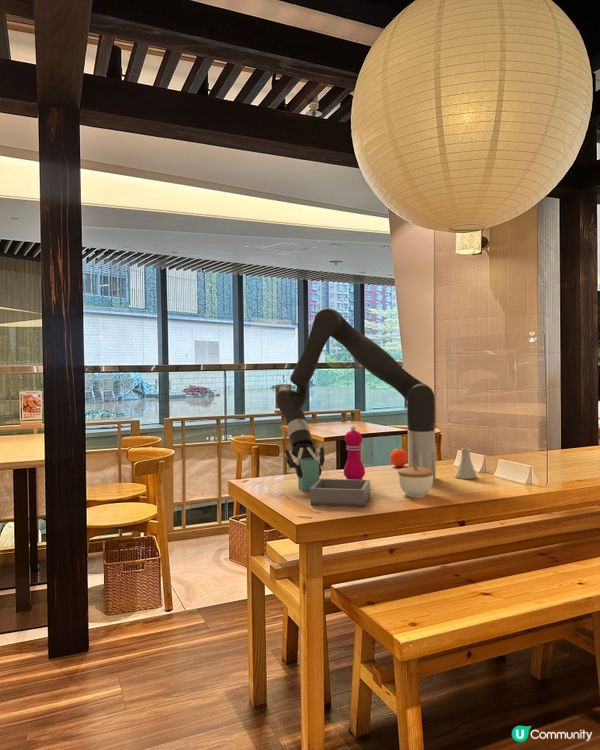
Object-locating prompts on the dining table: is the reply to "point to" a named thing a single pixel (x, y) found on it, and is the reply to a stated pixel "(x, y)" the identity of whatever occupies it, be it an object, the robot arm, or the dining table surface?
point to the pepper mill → (354, 455)
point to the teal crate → (308, 473)
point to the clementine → (398, 457)
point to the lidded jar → (415, 480)
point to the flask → (466, 466)
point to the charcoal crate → (340, 492)
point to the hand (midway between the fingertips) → (310, 475)
